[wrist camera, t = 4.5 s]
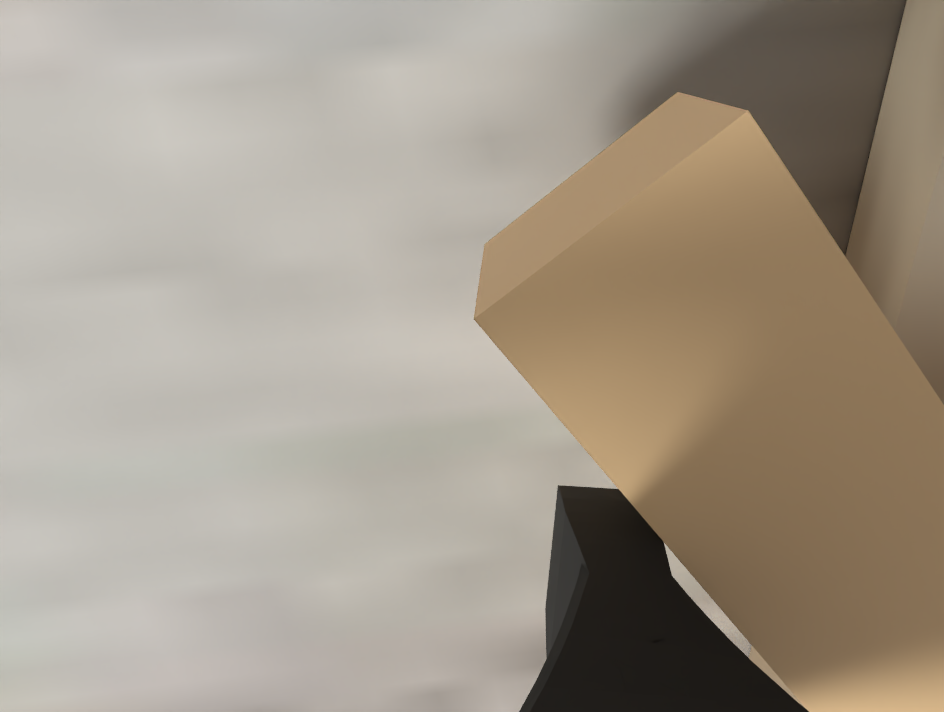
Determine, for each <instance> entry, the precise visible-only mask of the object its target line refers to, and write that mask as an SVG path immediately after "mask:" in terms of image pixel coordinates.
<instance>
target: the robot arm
mask: <svg viewBox="0 0 944 712" xmlns="http://www.w3.org/2000/svg"><path fill="white" fill-rule="evenodd" d="M546 652H547V660H546V662H545V664H544V666H543V668H542V670H541V672H540V674H539V676H538V678H537V680H536V682H535V684H534V686H533V688H532V690H531V691H530V693H529V695H528V697H527V699H526V700H525V702H524V704H523V706H522V708H521V710H520V711H519V712H809V711H808V710H807V709H805V708H804V707H803V706H802V705H801V704H799V703H798V702H797V701H796V700H795V699H794V698H792V697H791V696H790V695H789V694H788V693H787V692H786V691H785V690H784V689H782V688H781V687H780V686H779V685H778V684H777V683H776V682H775V681H773V680H772V679H771V678H770V677H769V676H768V675H767V674H766V673H765V672H763V671H762V670H761V669H760V668H759V667H758V666H757V665H756V664H754V663H753V662H752V661H751V660H750V659H749V658H748V657H747V656H746V655H745V654H744V653H743V652H742V651H741V650H740V649H739V648H738V647H737V646H735V645H734V644H733V643H732V642H731V641H730V640H729V639H728V638H727V637H726V635H725V634H724V633H723V632H722V631H721V630H720V629H719V628H718V627H717V626H716V625H715V624H714V623H713V622H712V621H711V620H710V619H709V618H708V617H707V616H706V615H705V614H704V612H703V611H702V610H701V609H700V608H699V607H698V606H697V605H696V603H695V602H694V601H693V600H692V599H691V598H690V597H689V596H688V594H687V593H686V592H685V591H684V590H683V588H682V587H681V586H680V585H679V584H678V582H677V581H676V580H675V579H674V578H673V577H672V575H671V571H670V567H669V562H668V558H667V554H666V550H665V546H664V542H663V540H662V539H661V538H660V537H659V536H658V535H657V533H656V532H655V531H654V530H653V529H652V528H651V526H650V525H649V524H648V523H647V522H646V521H645V519H644V518H643V517H642V516H641V515H640V513H639V512H638V511H637V510H636V509H635V508H634V506H633V505H632V504H631V503H630V502H629V501H628V499H627V498H626V497H625V496H624V495H623V494H622V492H621V491H620V490H619V489H607V488H591V487H575V486H559V485H558V491H557V501H556V511H555V520H554V530H553V540H552V550H551V560H550V570H549V579H548V589H547V599H546Z"/></svg>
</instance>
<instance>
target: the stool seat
mask: <svg viewBox="0 0 944 712" xmlns="http://www.w3.org/2000/svg"><path fill="white" fill-rule="evenodd" d="M845 257H846V258H847V260H848V261H849V263H850V264H851V266H852V267H853V269H854V270H855V272H856V273H857V275H858V276H859V278H860V279H861V281H862V282H863V284H864V285H865V287H866V288H867V290H868V291H869V293H870V294H871V296H872V297H873V299H874V301H875V302H876V304H877V305H878V307H879V308H880V310H881V311H882V313H883V314H884V316H885V317H886V319H887V320H888V322H889V323H890V325H891V326H892V328H893V329H894V331H895V332H896V334H897V335H898V337H899V338H900V340H901V341H902V343H903V344H904V346H905V347H906V349H907V350H908V352H909V353H910V355H911V356H912V358H913V359H914V361H915V362H916V364H917V365H918V367H919V368H920V370H921V371H922V373H923V374H924V376H925V377H926V379H927V380H928V382H929V383H930V385H931V386H932V388H933V389H934V391H935V392H936V394H937V395H938V397H939V398H940V400H941V401H942V403H943V404H944V0H907V1H906V5H905V9H904V14H903V18H902V22H901V26H900V30H899V34H898V39H897V43H896V47H895V51H894V55H893V59H892V64H891V68H890V72H889V76H888V80H887V84H886V89H885V93H884V97H883V101H882V105H881V109H880V114H879V118H878V122H877V126H876V130H875V134H874V139H873V143H872V147H871V151H870V155H869V159H868V164H867V168H866V172H865V176H864V180H863V184H862V189H861V193H860V197H859V201H858V205H857V209H856V214H855V218H854V222H853V226H852V230H851V234H850V239H849V243H848V247H847V251H846V255H845ZM749 659H750V660H751V661H752V662H753V663H754V664H756V665H757V666H758V667H759V668H760V669H761V670H762V671H763V672H765V673H766V674H767V675H768V676H769V677H770V678H771V679H772V680H773V681H775V682H776V683H777V684H778V685H779V686H780V687H781V688H782V689H784V690H785V691H786V692H787V693H788V694H789V695H790V696H791V697H792V698H794V699H795V700H796V701H797V702H798V703H799V704H801V702H800V701H799V700H798V699H797V698H796V696H795V695H794V694H793V693H792V692H791V691H790V689H789V688H788V687H787V686H786V685H785V684H784V682H783V681H782V680H781V679H780V678H779V677H778V675H777V674H776V673H775V672H774V671H773V669H772V668H771V667H770V666H769V665H768V664H767V662H766V661H765V660H764V659H763V658H762V657H761V655H760V654H759V653H758V652H757V651H756V650H755V648H754V647H753V646H752V647H751V651H750V655H749ZM801 705H802V704H801ZM802 706H803V705H802ZM803 707H804V706H803ZM804 708H805V707H804ZM805 709H806V708H805Z"/></svg>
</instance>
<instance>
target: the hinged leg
mask: <svg viewBox="0 0 944 712" xmlns="http://www.w3.org/2000/svg"><path fill="white" fill-rule="evenodd" d="M474 320H475V321H476V322H477V323H478V325H479V326H480V327H481V328H482V329H483V330H484V332H485V333H486V334H487V335H488V336H489V338H490V339H491V340H492V341H493V342H494V343H495V345H496V346H497V347H498V348H499V349H500V350H501V352H502V353H503V354H504V355H505V356H506V357H507V359H508V360H509V361H510V362H511V363H512V365H513V366H514V367H515V368H516V369H517V370H518V372H519V373H520V374H521V375H522V376H523V377H524V379H525V380H526V381H527V382H528V383H529V384H530V386H531V387H532V388H533V389H534V390H535V391H536V393H537V394H538V395H539V396H540V397H541V399H542V400H543V401H544V402H545V403H546V404H547V406H548V407H549V408H550V409H551V410H552V411H553V413H554V414H555V415H556V416H557V417H558V418H559V420H560V421H561V422H562V423H563V424H564V426H565V427H566V428H567V429H568V430H569V431H570V433H571V434H572V435H573V436H574V437H575V438H576V440H577V441H578V442H579V443H580V444H581V445H582V447H583V448H584V449H585V450H586V451H587V452H588V454H589V455H590V456H591V457H592V458H593V460H594V461H595V462H596V463H597V464H598V465H599V467H600V468H601V469H602V470H603V471H604V472H605V474H606V475H607V476H608V477H609V478H610V479H611V481H612V482H613V483H614V484H615V485H616V487H617V488H618V489H619V490H620V491H621V492H622V494H623V495H624V496H625V497H626V498H627V499H628V501H629V502H630V503H631V504H632V505H633V506H634V508H635V509H636V510H637V511H638V512H639V513H640V515H641V516H642V517H643V518H644V519H645V521H646V522H647V523H648V524H649V525H650V526H651V528H652V529H653V530H654V531H655V532H656V533H657V535H658V536H659V537H660V538H661V539H662V540H663V542H664V543H665V544H666V545H667V546H668V547H669V549H670V550H671V551H672V552H673V553H674V555H675V556H676V557H677V558H678V559H679V560H680V562H681V563H682V564H683V565H684V566H685V567H686V569H687V570H688V571H689V572H690V573H691V574H692V576H693V577H694V578H695V579H696V580H697V582H698V583H699V584H700V585H701V586H702V587H703V589H704V590H705V591H706V592H707V593H708V594H709V596H710V597H711V598H712V599H713V600H714V601H715V603H716V604H717V605H718V606H719V607H720V608H721V610H722V611H723V612H724V613H725V614H726V616H727V617H728V618H729V619H730V620H731V621H732V623H733V624H734V625H735V626H736V627H737V628H738V630H739V631H740V632H741V633H742V634H743V635H744V637H745V638H746V639H747V640H748V641H749V643H750V644H751V645H752V646H753V647H754V648H755V650H756V651H757V652H758V653H759V654H760V655H761V657H762V658H763V659H764V660H765V661H766V662H767V664H768V665H769V666H770V667H771V668H772V669H773V671H774V672H775V673H776V674H777V675H778V677H779V678H780V679H781V680H782V681H783V682H784V684H785V685H786V686H787V687H788V688H789V689H790V691H791V692H792V693H793V694H794V695H795V696H796V698H797V699H798V700H799V701H800V702H801V704H802V705H803V706H804V707H805V708H806V709H807V710H808V711H809V712H944V404H943V403H942V401H941V400H940V398H939V397H938V395H937V394H936V392H935V391H934V389H933V388H932V386H931V385H930V383H929V382H928V380H927V379H926V377H925V376H924V374H923V373H922V371H921V370H920V368H919V367H918V365H917V364H916V362H915V361H914V359H913V358H912V356H911V355H910V353H909V352H908V350H907V349H906V347H905V346H904V344H903V343H902V341H901V340H900V338H899V337H898V335H897V334H896V332H895V331H894V329H893V328H892V326H891V325H890V323H889V322H888V320H887V319H886V317H885V316H884V314H883V313H882V311H881V310H880V308H879V307H878V305H877V304H876V302H875V301H874V299H873V297H872V296H871V294H870V293H869V291H868V290H867V288H866V287H865V285H864V284H863V282H862V281H861V279H860V278H859V276H858V275H857V273H856V272H855V270H854V269H853V267H852V266H851V264H850V263H849V261H848V260H847V258H846V257H845V255H844V254H843V252H842V251H841V249H840V248H839V246H838V245H837V243H836V242H835V240H834V239H833V237H832V236H831V234H830V233H829V231H828V230H827V228H826V227H825V225H824V224H823V222H822V221H821V219H820V218H819V216H818V215H817V213H816V212H815V210H814V209H813V207H812V206H811V204H810V203H809V201H808V200H807V198H806V197H805V195H804V194H803V192H802V191H801V189H800V188H799V186H798V185H797V183H796V182H795V180H794V179H793V177H792V176H791V174H790V173H789V171H788V170H787V168H786V167H785V165H784V164H783V162H782V161H781V159H780V157H779V156H778V154H777V153H776V151H775V150H774V148H773V147H772V145H771V144H770V142H769V141H768V139H767V138H766V136H765V135H764V133H763V132H762V130H761V129H760V127H759V126H758V124H757V123H756V121H755V120H754V118H753V117H752V115H751V114H750V112H749V111H748V110H744V109H741V108H737V107H733V106H729V105H725V104H722V103H718V102H714V101H710V100H707V99H703V98H699V97H695V96H692V95H688V94H684V93H680V92H677V93H676V94H674V95H673V96H672V97H670V98H669V99H668V100H667V101H665V102H664V103H663V104H662V105H660V106H659V107H658V108H657V109H655V110H654V111H653V112H651V113H650V114H649V115H648V116H646V117H645V118H644V119H643V120H641V121H640V122H639V123H638V124H636V125H635V126H634V127H632V128H631V129H630V130H629V131H627V132H626V133H625V134H624V135H622V136H621V137H620V138H619V139H617V140H616V141H615V142H613V143H612V144H611V145H610V146H608V147H607V148H606V149H605V150H603V151H602V152H601V153H600V154H598V155H597V156H596V157H594V158H593V159H592V160H591V161H589V162H588V163H587V164H586V165H584V166H583V167H582V168H581V169H579V170H578V171H577V172H575V173H574V174H573V175H572V176H570V177H569V178H568V179H567V180H565V181H564V182H563V183H562V184H560V185H559V186H558V187H556V188H555V189H554V190H553V191H551V192H550V193H549V194H548V195H546V196H545V197H544V198H543V199H541V200H540V201H539V202H537V203H536V204H535V205H534V206H532V207H531V208H530V209H529V210H527V211H526V212H525V213H524V214H522V215H521V216H520V217H518V218H517V219H516V220H515V221H513V222H512V223H511V224H510V225H508V226H507V227H506V228H505V229H503V230H502V231H501V232H499V233H498V234H497V235H496V236H494V237H493V238H492V239H491V240H489V241H488V242H487V243H486V244H485V245H484V252H483V259H482V266H481V273H480V279H479V286H478V293H477V300H476V307H475V314H474Z"/></svg>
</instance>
